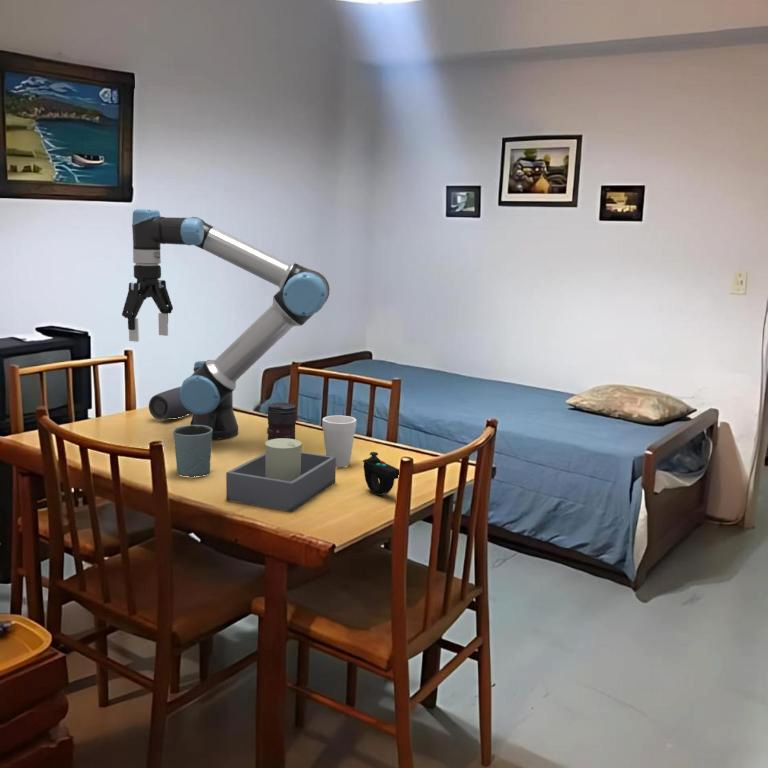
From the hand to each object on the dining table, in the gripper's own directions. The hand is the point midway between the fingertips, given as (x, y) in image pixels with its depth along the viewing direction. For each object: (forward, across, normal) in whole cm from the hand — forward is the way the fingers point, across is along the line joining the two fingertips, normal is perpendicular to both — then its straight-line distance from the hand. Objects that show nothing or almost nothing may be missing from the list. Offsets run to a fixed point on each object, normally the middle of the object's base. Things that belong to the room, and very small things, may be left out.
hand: (149, 338), depth 238 cm
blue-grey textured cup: (+32, -18, -27) cm, 46 cm away
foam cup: (+32, +7, -58) cm, 67 cm away
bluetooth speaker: (+32, +32, +12) cm, 47 cm away
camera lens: (+32, +7, -40) cm, 52 cm away
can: (+31, -20, -55) cm, 66 cm away
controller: (+32, -11, -78) cm, 85 cm away
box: (+32, -20, -55) cm, 67 cm away
